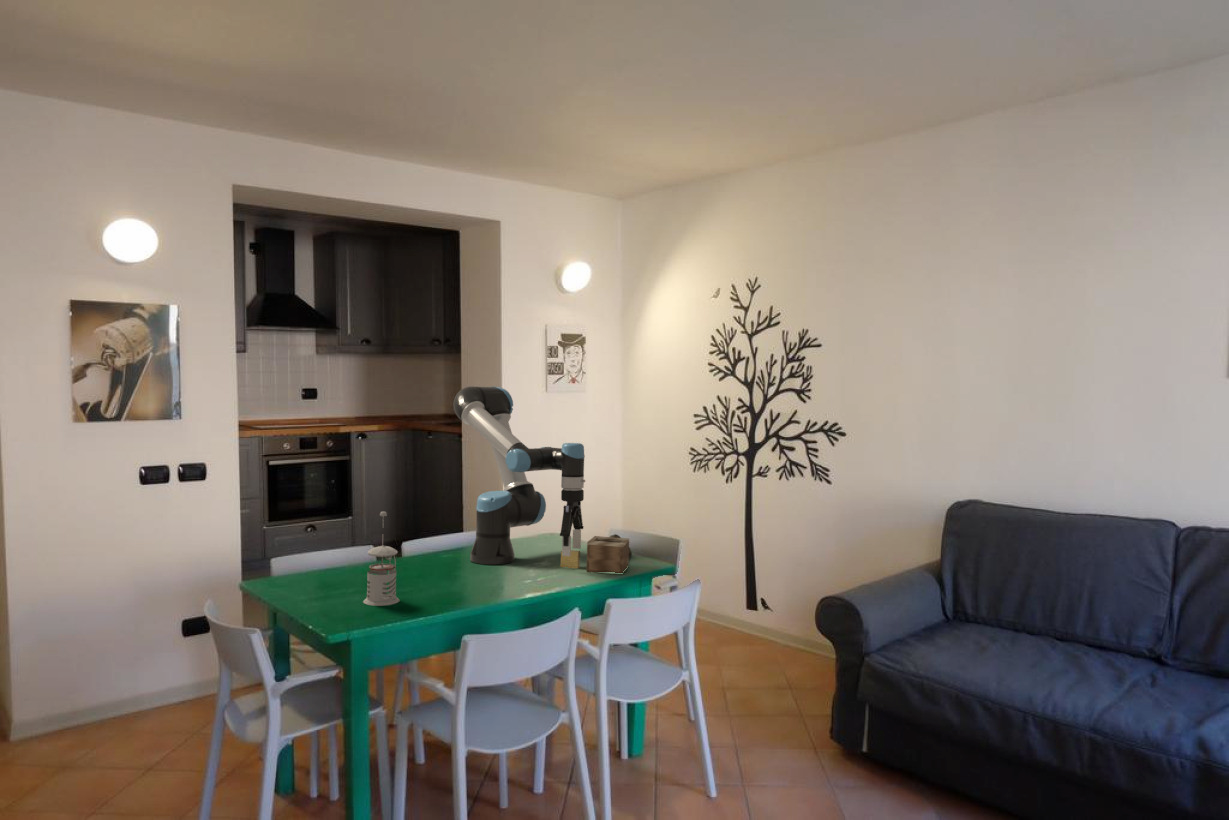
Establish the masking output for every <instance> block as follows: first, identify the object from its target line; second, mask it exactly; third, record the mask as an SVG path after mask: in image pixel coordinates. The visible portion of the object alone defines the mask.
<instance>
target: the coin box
mask: <svg viewBox="0 0 1229 820" xmlns="http://www.w3.org/2000/svg"><path fill="white" fill-rule="evenodd" d="M586 545H587V546H586V570H585V571H586V573H591V572H615V573H623V571H624V570H625V569H626V568H627V566H628V567H629V564H630V563H629V562H630V561H629V559H630V558H629V547H630V538H624V537H621V538H615V537H610V536H600V535H599V536H598V535H594V536H592V538H590V539H589V540H588V541H587V542H586ZM623 574H624V573H623Z"/></svg>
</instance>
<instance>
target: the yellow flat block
mask: <svg viewBox="0 0 1229 820" xmlns="http://www.w3.org/2000/svg"><path fill="white" fill-rule="evenodd" d="M580 562H581V550H572V549H571V556H562V550H560V568H564V567H568V568H567V569H577V568H578V569H579V568H580V564H581V563H580Z"/></svg>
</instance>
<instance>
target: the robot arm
mask: <svg viewBox="0 0 1229 820" xmlns="http://www.w3.org/2000/svg"><path fill="white" fill-rule="evenodd" d="M452 406H453V410H454V413H455V415H456V416H457V418H458V419H459V420H460V421H462V423H463V424H465V425H467V426H471V427H472V428H473V429H474V430H475V431H476V432H478V434H479V435H481V437H483V438H484V439H485V440H486V441H487V442H488V443H489V444H490V446H491V449H492V452H493V457H494V459H495V462H496V465H497V468H498V472H499V475H500V479H501V481H502V485H503V487H504V488H503V490H491V491H486V492H483V493H481V494H480V495H478V497H477V500H476V501H477V502H476V507H475V508H476V522H475V523H476V525H475V528H476V529H475V540H474V542H473V545H472V548H471V551H470V557H469V558H470V559H469V560H470V562H473V563H476V564H481V565H504V564H510V563H513V562H514V561H515V555H516V554H515V550H514V547H513V543H512V540H511V528H517V527H525V526H527V527H528V526H531V525H535V524H538V523H540V522H541V521H542V520H543V518H544V516H545V513H546V510H547V504H546V498H545V496H544V495H543V493H541V492H540V491H537V490H535V487H534V484H533V483H532V482H530V481H528V478H527V476H526V473H525V472H534V471H535V472H537V471H549V470H550V471H551V470H554V471H561V485H560V487H561V489H562V490H561V492H560V493H561V495H560V496H561V497H560V498H561V502H566V505H563V515H562V521H561V527H560V533H559V537H562V538H561V541H562V544H561V545H562V547H561V551H562V556H571V550H572V549H579V550H580V549H581V547H582V546H581V545H582V544H581V543H582V542H581V541H582V530H584V525H583V516H582V506H581V505H582V504H581V503H582V502H583V501H584V498H585V497H584V494H585V493H584V492H585V491H584V486H585V485H584V484H585V483H586V479H584V478H585V477H584V476H585V474H584V472H585V455H586V454H585V446H584V444H582V443H580V442H565V443H562V445H561V447H552V446H542V447H539V448H536V447H535V448H529V447H528V446H527V445H525V444H524V443H523V442H522V441H521V440H520V439H519V438H517V437H516V435H514V434H513V432H512V428H511V426H510V423H509V422H510V420H511V419H512V418H511V417H512V415H511V414H512V413H513V410H514V408H513V407H514V400H513V398H512V395H511V394H510V392H509V391H508V390H507V389H505V388H503V387H498V386H467V387H464V388H462V389H460V390H459V391H458V392H457V393H456V395H455V397H454V400H453V405H452ZM572 528H573V529H572ZM571 532H572V536H571Z"/></svg>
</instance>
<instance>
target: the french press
mask: <svg viewBox="0 0 1229 820" xmlns="http://www.w3.org/2000/svg"><path fill="white" fill-rule="evenodd" d="M387 513H388V512H386V511H380V513H379V516H380V517H382V527H384V526H385V525H384V521H385V520H384V518H385V517H387V516H388V515H387ZM381 536H382V541H381V543H382V545H380V546H379V545H378V546H375V547H373V548H370V549H369V550H368V551H367V552H366V553H367V555H368V556H371V557H378V558H379V557H381V562H380V563H374V564H370V565H369V566H368V568H369V570H368V571H367V578H366V579H367V582H366V583H367V585H366V586H367V587H366V598H365V599H364V600H363V601H362V603H363V604H366V605H368V606H372V607H373V606H375V607H376V606H378V607H380V606H381V607H382V606H391V605H395V604H397V603H399V602H400V601H401V600H400V599H399V598H398V597H397V582H396V581H397V570H396V568H397V566H396V565H397V562H396V555H397V554H398V550H397V549H395V548H393V547H391V546H387V545H384V535H381ZM384 557H385V560H389V563H383V561H384V559H383V558H384ZM392 559H394V564H393V563H391V560H392ZM387 588H388V589H387Z"/></svg>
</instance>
